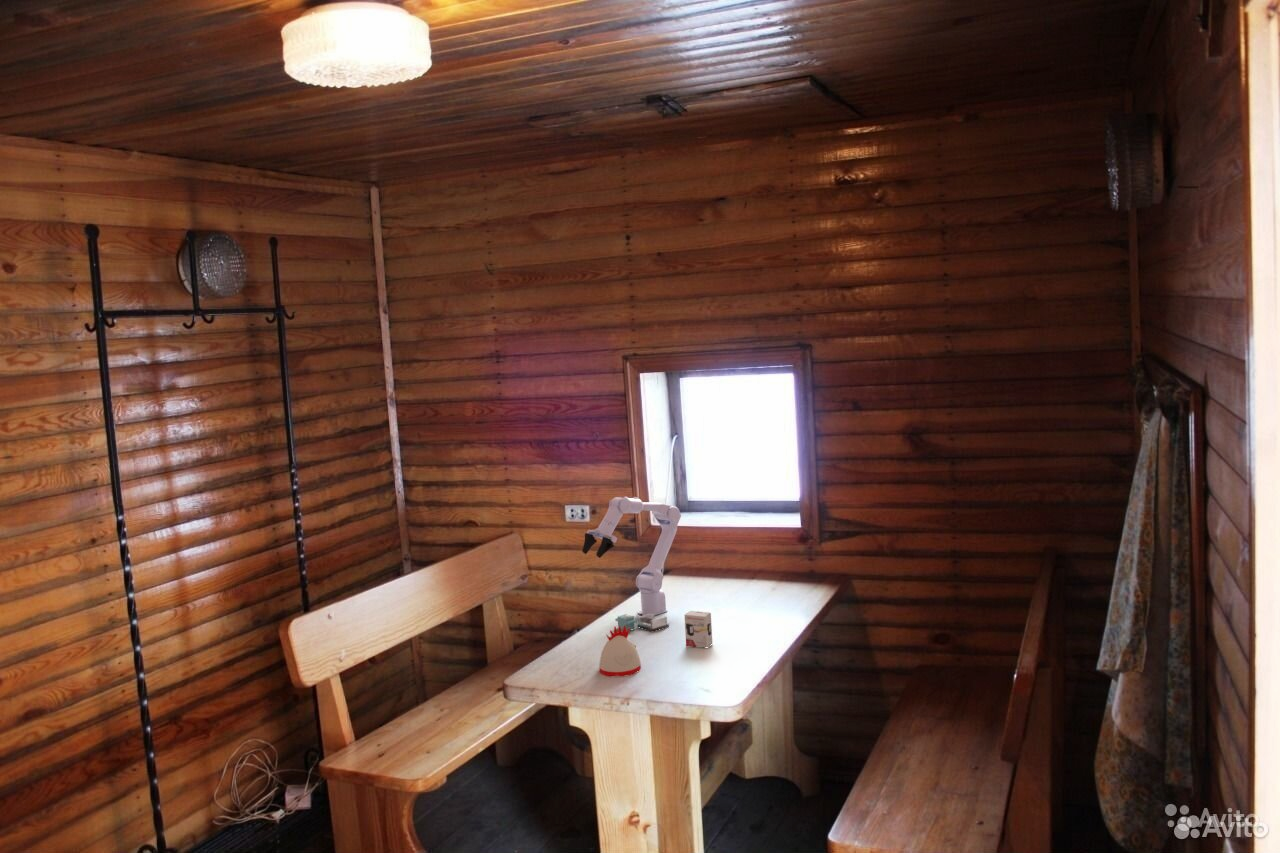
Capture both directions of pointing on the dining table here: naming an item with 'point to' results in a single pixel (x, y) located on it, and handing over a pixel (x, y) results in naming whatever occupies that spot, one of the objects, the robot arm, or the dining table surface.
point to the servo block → (626, 621)
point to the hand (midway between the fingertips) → (590, 554)
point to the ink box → (698, 629)
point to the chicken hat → (619, 655)
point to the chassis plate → (652, 622)
